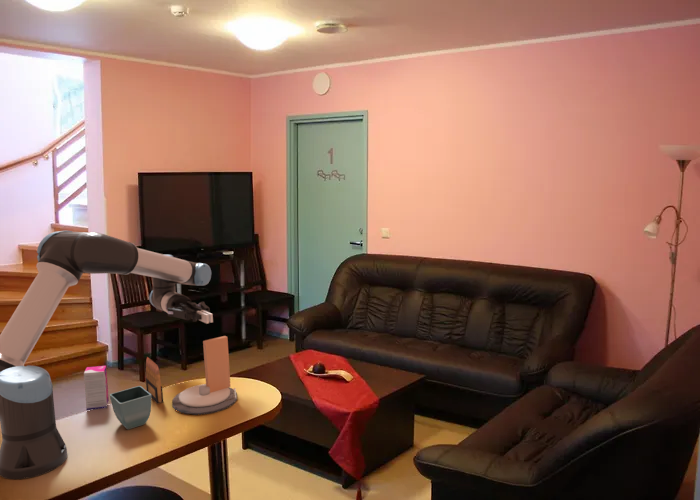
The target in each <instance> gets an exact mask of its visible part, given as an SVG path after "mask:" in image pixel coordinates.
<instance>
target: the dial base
mask: <svg viewBox="0 0 700 500" xmlns="http://www.w3.org/2000/svg"><path fill="white" fill-rule="evenodd" d="M228 388H229V389H230V396H229V398H228V399H226V400H225V401H223V402H221V403H218V404H215V405H211V406H206V407H190V406H185V405H183V404H181V403H180V401H179V394H180V393H181V392H179V393H177V394H175V396H174V397H173V399H172V400H171V401H172V402H171V403H172V408H174V409H175V410H174V409H173V410H174V411H176V410H177V411H179V412H181V413H180V414H182V413H184V414H183V415H188V414H192V415H191V416H200V415H201V414H202V415H209V414H210V415H211V414H215V413H219V412H222V411H224V410H227V409H229V408H231V407H232V406H233V405H234V404H235V403H236V402H237V400H238V393H237V390H236V389H237V388H235V387H234V388H232V387H231V386H230V387H228ZM177 411H176V412H177ZM179 412H178V413H179ZM198 414H199V415H198ZM202 415H201V416H202Z"/></svg>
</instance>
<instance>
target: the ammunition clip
mask: <svg viewBox="0 0 700 500" xmlns="http://www.w3.org/2000/svg"><path fill="white" fill-rule="evenodd" d="M145 367H146V368H145V376H146V377H145V384H146V385H145V387H146V391H148V392H149V393H150V394H151V400H153V401H154V402H155V403H156V404H157V405H159V404H162V403H164V394H163V385H162V382H161V375H160V369H159V365H158V364H156V362H154V361H153V359H151V358H150V357H148V356H146V361H145Z"/></svg>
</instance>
